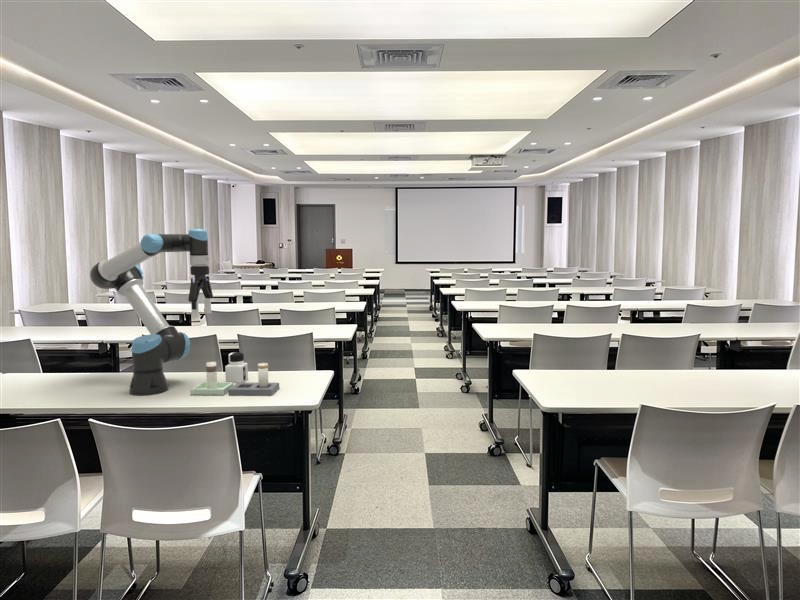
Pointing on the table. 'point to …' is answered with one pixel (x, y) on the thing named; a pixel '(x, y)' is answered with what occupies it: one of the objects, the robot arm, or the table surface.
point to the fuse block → (252, 389)
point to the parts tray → (202, 389)
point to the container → (236, 368)
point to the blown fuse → (211, 375)
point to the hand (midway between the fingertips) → (201, 315)
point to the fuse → (263, 375)
